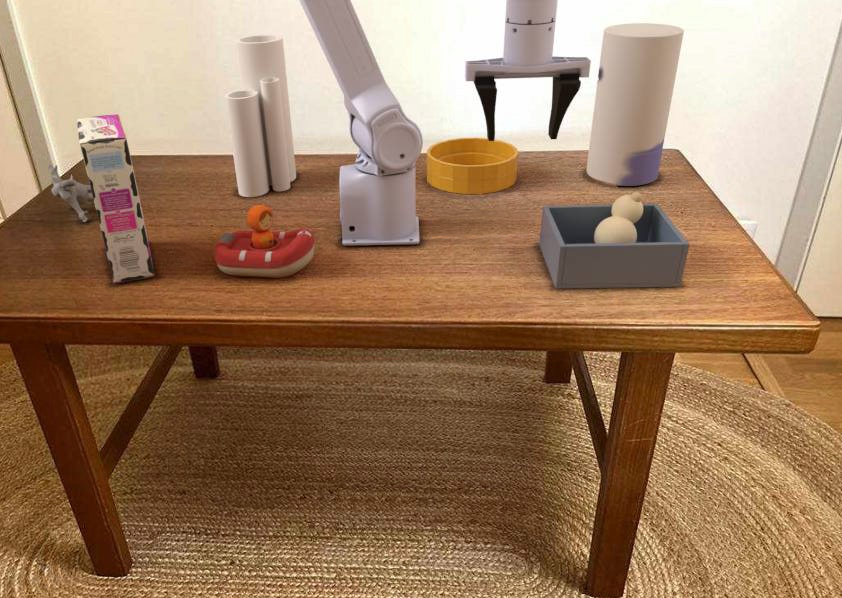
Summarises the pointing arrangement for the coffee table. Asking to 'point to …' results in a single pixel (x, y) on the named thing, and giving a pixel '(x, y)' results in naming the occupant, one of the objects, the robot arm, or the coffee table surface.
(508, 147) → the bowl
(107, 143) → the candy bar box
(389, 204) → the robot arm
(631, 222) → the beige rounded figure
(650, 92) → the container
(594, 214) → the bin
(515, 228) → the coffee table surface
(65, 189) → the elephant figurine
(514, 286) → the coffee table surface
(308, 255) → the toy boat
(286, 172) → the vase
